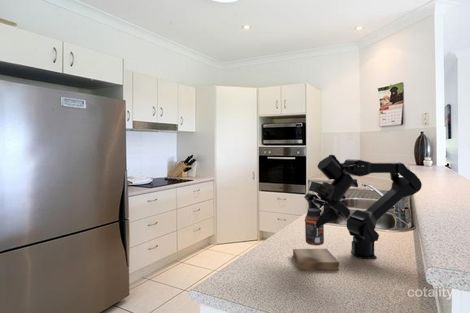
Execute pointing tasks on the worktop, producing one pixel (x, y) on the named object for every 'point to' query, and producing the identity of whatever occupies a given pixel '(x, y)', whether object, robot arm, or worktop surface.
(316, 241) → the supplement bottle
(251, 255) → the worktop surface
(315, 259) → the walnut plinth
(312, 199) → the robot arm
